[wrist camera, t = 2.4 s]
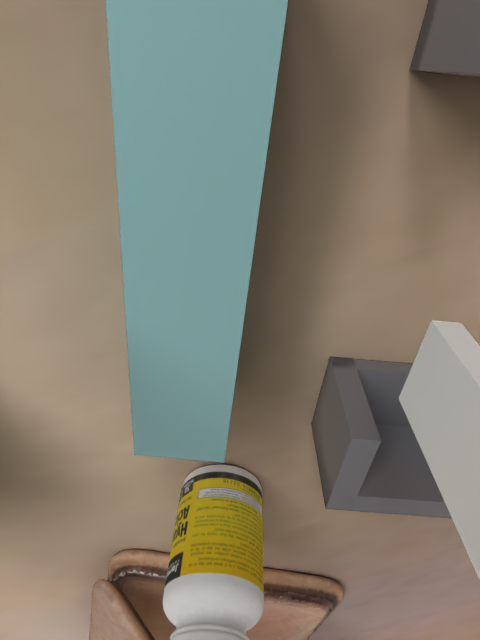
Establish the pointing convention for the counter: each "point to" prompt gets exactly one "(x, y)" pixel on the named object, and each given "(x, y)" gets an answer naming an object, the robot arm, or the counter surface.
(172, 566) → the supplement bottle
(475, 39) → the end cap near
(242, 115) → the teal rectangular bar
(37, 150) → the counter surface
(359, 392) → the end cap far
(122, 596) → the case
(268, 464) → the counter surface
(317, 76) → the counter surface
